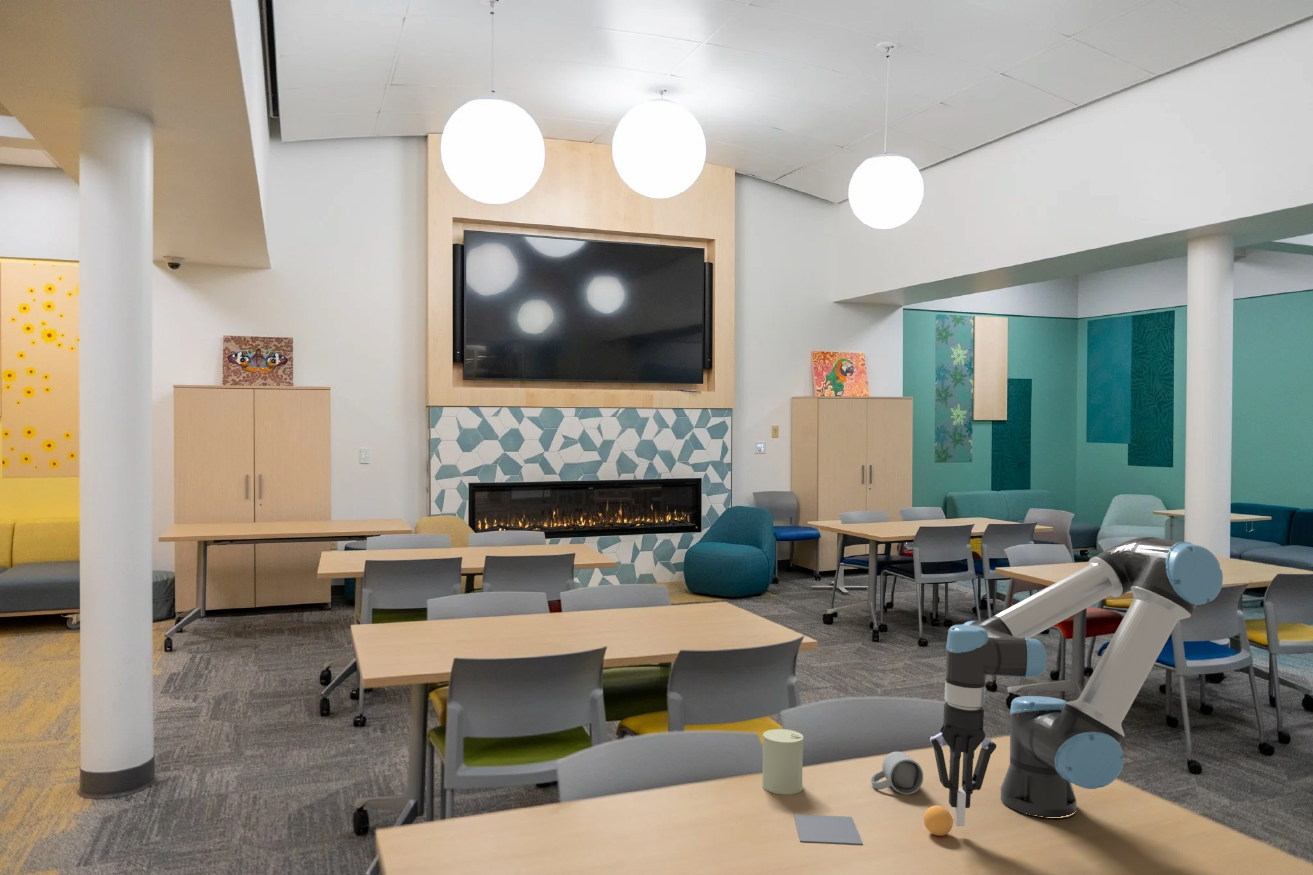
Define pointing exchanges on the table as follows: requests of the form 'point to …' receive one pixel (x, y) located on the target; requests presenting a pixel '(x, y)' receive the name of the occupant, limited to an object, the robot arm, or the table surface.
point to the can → (782, 761)
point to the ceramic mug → (899, 774)
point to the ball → (938, 820)
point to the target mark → (827, 829)
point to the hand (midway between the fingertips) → (958, 822)
